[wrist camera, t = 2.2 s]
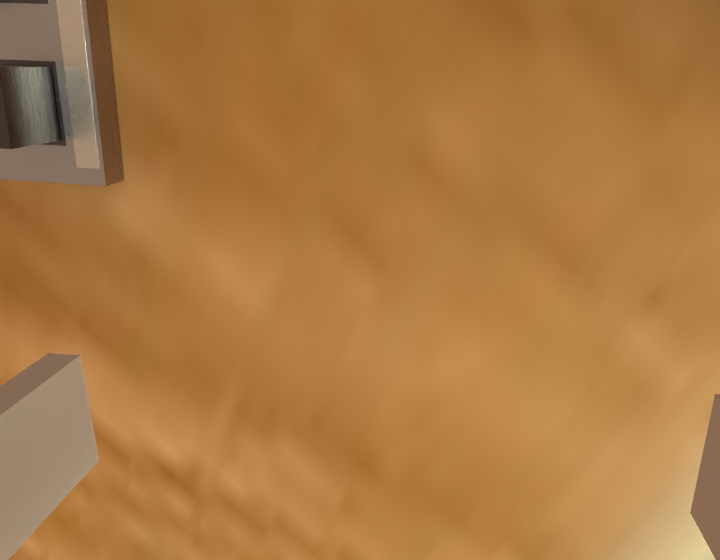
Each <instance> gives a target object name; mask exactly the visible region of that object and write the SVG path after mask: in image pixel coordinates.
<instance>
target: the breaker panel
mask: <svg viewBox="0 0 720 560" xmlns="http://www.w3.org/2000/svg"><path fill="white" fill-rule="evenodd" d="M0 179H9V180H24V181H38V182H52V183H67V184H81V185H95V186H108V185H111V184H114V183H117V182H120V181H123V180H124V178H123V167H122V157H121V147H120V137H119V127H118V116H117V106H116V96H115V86H114V76H113V65H112V55H111V45H110V35H109V25H108V15H107V4H106V0H0Z"/></svg>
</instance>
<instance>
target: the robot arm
mask: <svg viewBox="0 0 720 560" xmlns="http://www.w3.org/2000/svg"><path fill="white" fill-rule="evenodd" d="M98 461H99V457H98V451H97V446H96V440H95V435H94V429H93V424H92V418H91V413H90V407H89V402H88V396H87V391H86V385H85V380H84V374H83V369H82V363H81V358H80V355H67V354H51V353H48V354H47V355H45V356H44V357H43V358H41V359H40V360H38V361H37V362H35V363H34V364H32V365H31V366H29V367H28V368H27V369H25V370H24V371H22V372H21V373H19V374H18V375H16V376H15V377H14V378H12V379H11V380H9V381H8V382H6V383H5V384H3V385H2V386H1V387H0V560H8V559H9V558H10V557H11V556H12V555H13V554H14V553H15V552H16V551H17V549H18V548H19V547H20V546H21V545H22V544H23V543H24V542H25V541H26V540H27V539H28V537H29V536H30V535H31V534H32V533H33V532H34V531H35V530H36V529H37V528H38V527H39V525H40V524H41V523H42V522H43V521H44V520H45V519H46V518H47V517H48V516H49V515H50V513H51V512H52V511H53V510H54V509H55V508H56V507H57V506H58V505H59V504H60V503H61V501H62V500H63V499H64V498H65V497H66V496H67V495H68V494H69V493H70V492H71V491H72V489H73V488H74V487H75V486H76V485H77V484H78V483H79V482H80V481H81V480H82V479H83V477H84V476H85V475H86V474H87V473H88V472H89V471H90V470H91V469H92V468H93V467H94V465H95V464H96V463H97V462H98ZM690 513H691V514H692V516H693V518H694V520H695V522H696V524H697V526H698V527H699V529H700V531H701V533H702V535H703V537H704V539H705V540H706V542H707V544H708V546H709V548H710V550H711V552H712V553H713V555H714V557H715V559H716V560H720V394H715V397H714V402H713V407H712V412H711V416H710V421H709V426H708V431H707V436H706V440H705V445H704V450H703V455H702V460H701V464H700V469H699V474H698V479H697V484H696V488H695V493H694V498H693V503H692V508H691V512H690Z"/></svg>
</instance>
